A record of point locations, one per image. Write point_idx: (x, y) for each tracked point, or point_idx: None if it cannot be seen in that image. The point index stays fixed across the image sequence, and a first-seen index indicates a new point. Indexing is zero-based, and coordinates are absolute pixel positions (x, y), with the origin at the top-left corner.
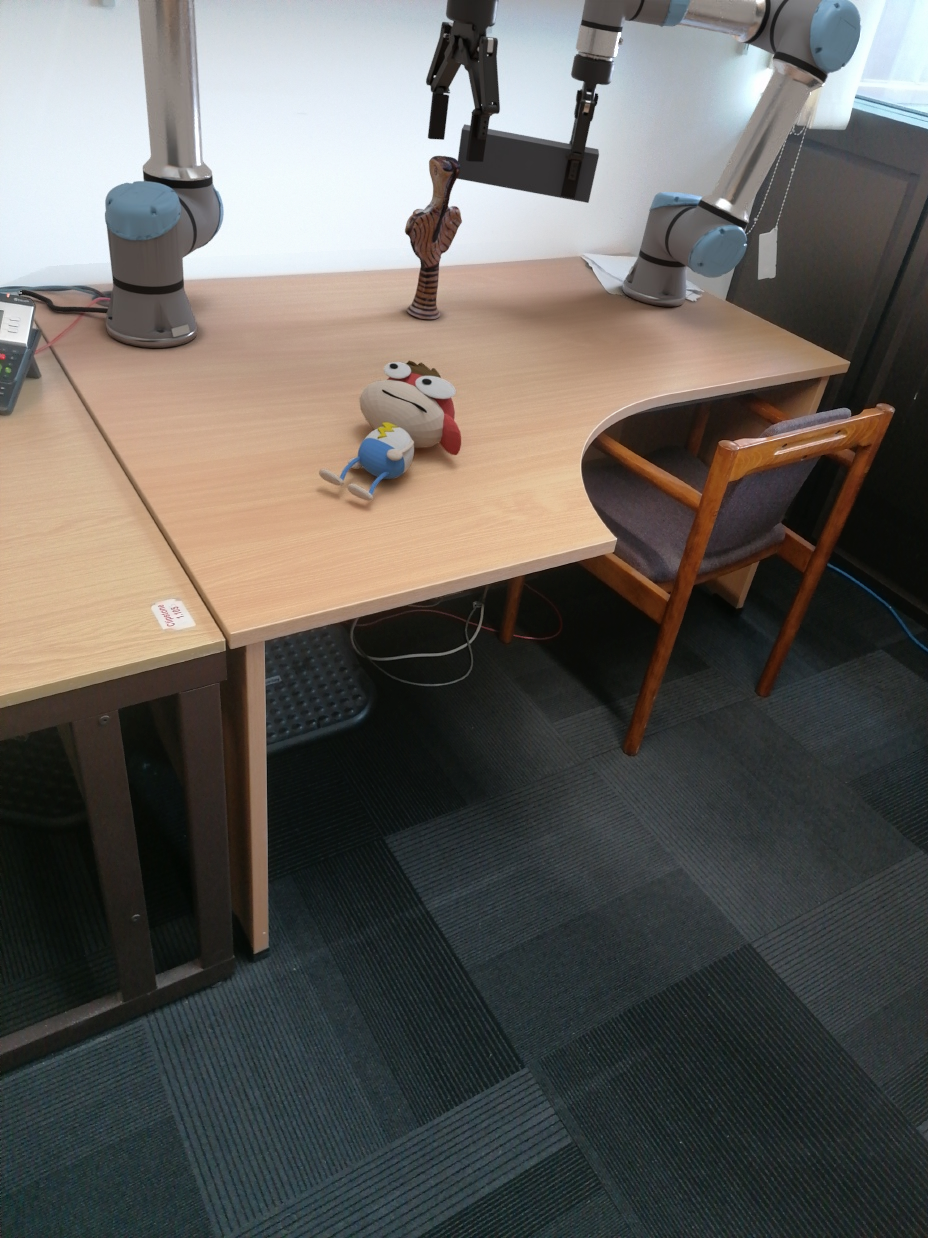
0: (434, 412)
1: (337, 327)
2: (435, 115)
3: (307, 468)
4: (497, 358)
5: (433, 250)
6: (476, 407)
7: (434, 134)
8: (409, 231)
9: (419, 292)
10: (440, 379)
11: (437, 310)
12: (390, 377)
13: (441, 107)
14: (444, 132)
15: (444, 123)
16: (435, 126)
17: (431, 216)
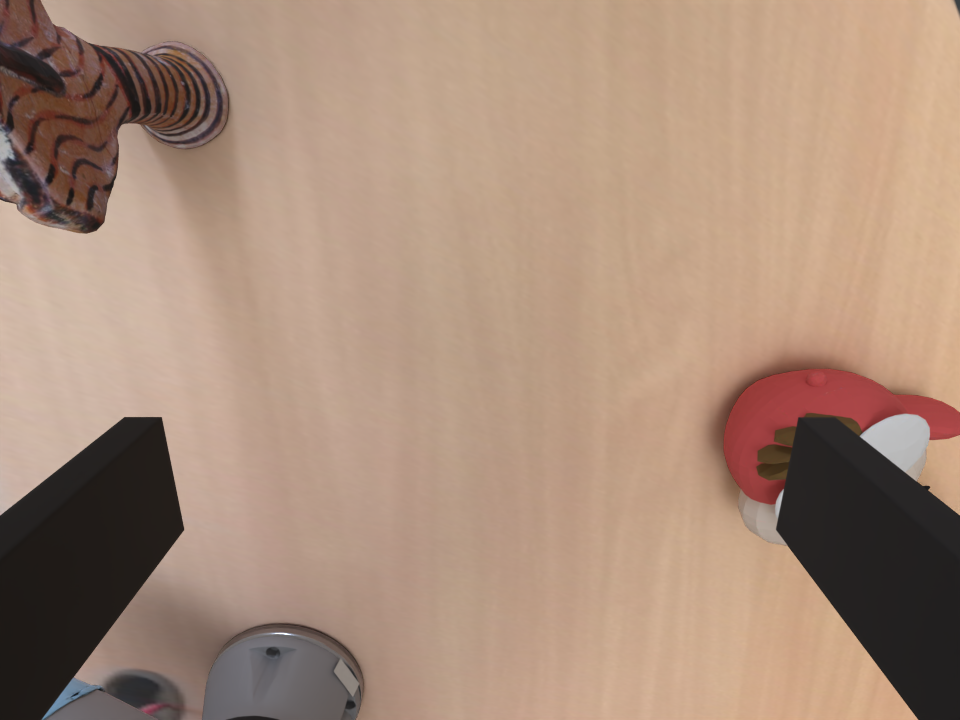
0: (921, 463)
1: (276, 370)
2: (81, 630)
3: (813, 603)
4: (504, 21)
5: (83, 82)
6: (737, 235)
7: (165, 518)
8: (95, 223)
9: (162, 123)
10: (879, 437)
11: (188, 58)
12: (772, 496)
13: (8, 643)
14: (137, 446)
15: (96, 494)
16: (132, 554)
17: (15, 115)
